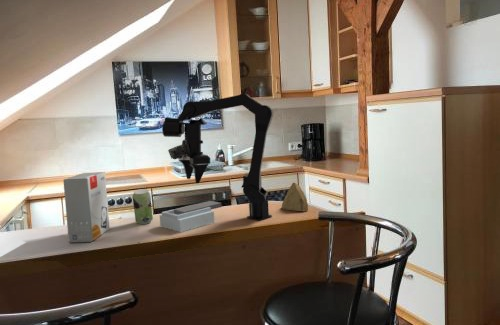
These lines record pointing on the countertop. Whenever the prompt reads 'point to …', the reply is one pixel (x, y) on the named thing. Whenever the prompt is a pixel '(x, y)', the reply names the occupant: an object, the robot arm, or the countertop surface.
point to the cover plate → (197, 207)
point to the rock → (295, 199)
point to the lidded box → (187, 219)
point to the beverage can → (142, 206)
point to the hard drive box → (86, 206)
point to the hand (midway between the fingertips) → (192, 181)
